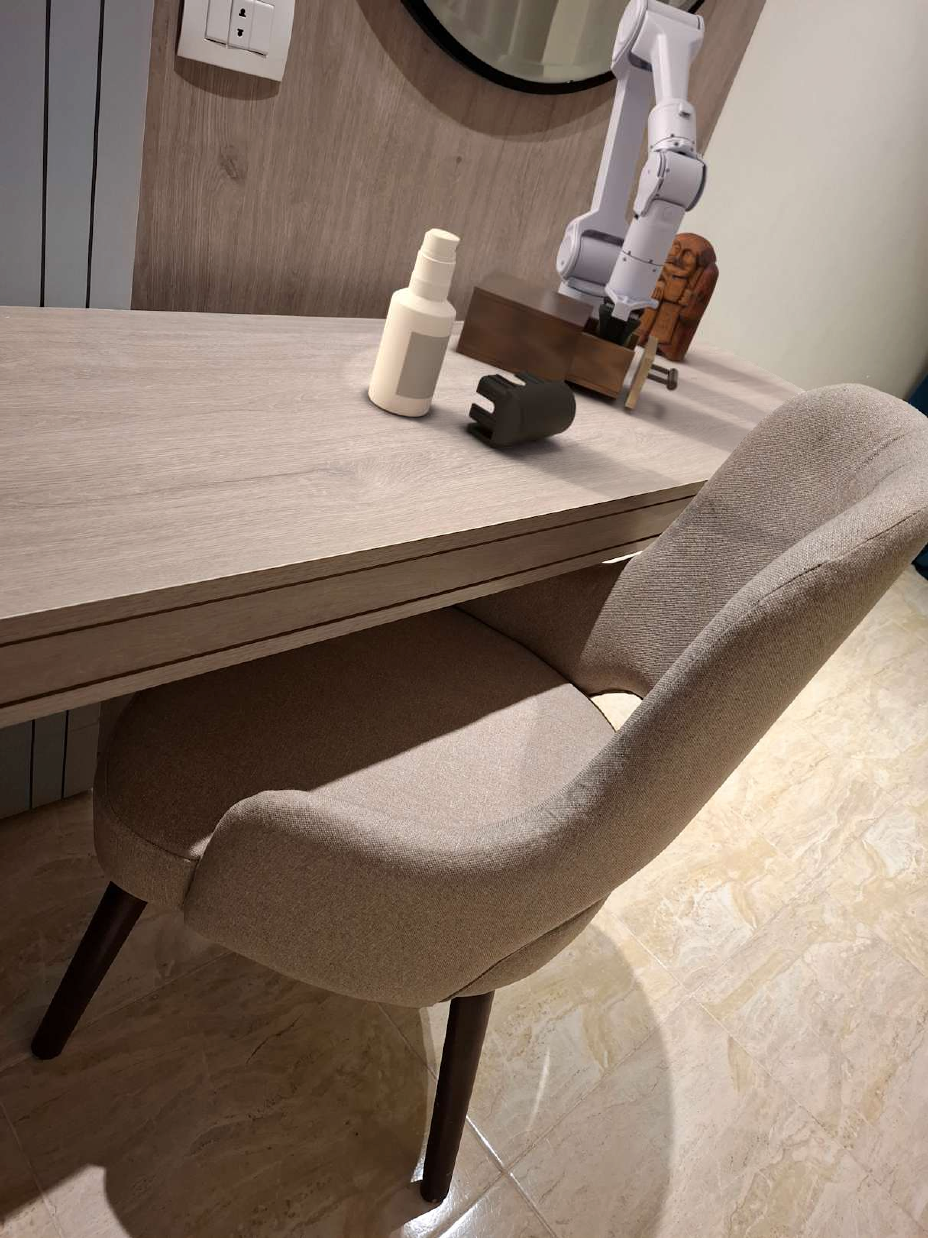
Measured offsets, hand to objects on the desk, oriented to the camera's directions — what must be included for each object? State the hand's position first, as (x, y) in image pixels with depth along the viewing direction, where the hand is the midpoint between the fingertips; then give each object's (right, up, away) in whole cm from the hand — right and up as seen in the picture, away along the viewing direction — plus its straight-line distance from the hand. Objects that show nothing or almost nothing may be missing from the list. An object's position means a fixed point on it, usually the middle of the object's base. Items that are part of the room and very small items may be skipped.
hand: (602, 359), depth 120 cm
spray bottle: (-26, -11, -22) cm, 36 cm away
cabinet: (-11, +1, +3) cm, 12 cm away
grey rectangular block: (-1, -2, +1) cm, 2 cm away
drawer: (0, -3, +2) cm, 3 cm away
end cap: (-13, -15, -21) cm, 29 cm away
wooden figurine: (+13, +10, +29) cm, 33 cm away
